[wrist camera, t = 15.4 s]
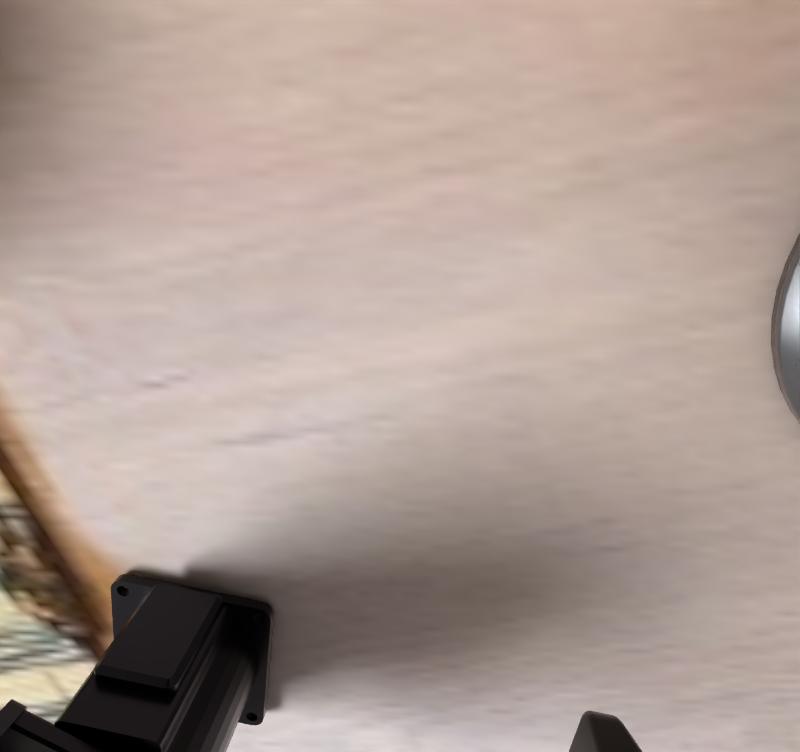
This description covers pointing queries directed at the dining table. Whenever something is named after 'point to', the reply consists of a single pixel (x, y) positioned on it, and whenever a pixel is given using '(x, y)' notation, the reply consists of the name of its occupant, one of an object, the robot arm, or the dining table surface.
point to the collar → (788, 331)
